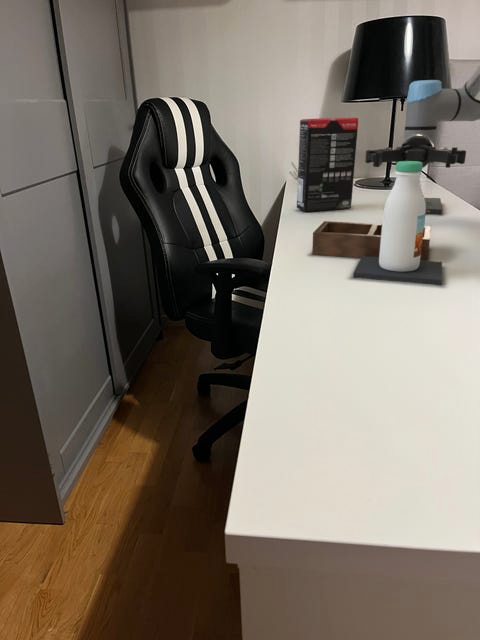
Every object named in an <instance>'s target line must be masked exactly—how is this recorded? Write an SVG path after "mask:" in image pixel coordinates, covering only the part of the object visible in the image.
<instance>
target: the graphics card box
mask: <svg viewBox="0 0 480 640" xmlns="http://www.w3.org/2000/svg"><path fill="white" fill-rule="evenodd" d="M358 129H359V118H358V117H328V118H327V117H326V118H324V117H323V118H303V119H300V120H299V141H298V142H299V143H298V167H297V189H296V192H297V193H296V209H298V210H300V211H302V212H318V211H320V212H321V211H332V210H333V211H334V210H335V211H336V210H345V209H351V208H352V202H353V191H354V177H355V164H356V153H357V152H356V151H357V141H358Z"/></svg>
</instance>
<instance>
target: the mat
mask: <svg viewBox="0 0 480 640" xmlns="http://www.w3.org/2000/svg"><path fill="white" fill-rule="evenodd" d="M352 276H353V278H357V279H368V280H380V281H391V282H392V281H393V282H402V283H414V284H425V285H426V284H427V285H438V286H442V284H443V262H442V261H437V260H436V261H435V260H427V261H423V260H420V264H419V267H418V269H416V270H413V271H406V272H399V271H391V270H386V269H384V268H382V267H380V265H379V257H367V256H362V257H361V258H359V261H358V263H357V265H356V267H355V269H354V270H353V275H352Z"/></svg>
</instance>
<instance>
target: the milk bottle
mask: <svg viewBox="0 0 480 640" xmlns="http://www.w3.org/2000/svg"><path fill="white" fill-rule="evenodd" d="M395 165H396V166H395V176H396V178H395V181H394V184H393V186H392V189H391V191H390V192H389V194H388V195H387V198H386V200H385V203H384V208H383V214H382V223H381V224H382V232H381V243H380V255H379V265H380V267H382V268H384V269H386V270H391V271H399V272H406V271H413V270H416V269H418V267H419V264H420V257H421V249H422V240H423V232H424V226H425V222H426V214H425V212H426V205H425V199H424V198H425V196H424V193H423V190H422V186H421V176H422V173H423V172H422V171H423V168H422V166H423V164H422V162H418V161H400V162H397V163H396V164H395Z"/></svg>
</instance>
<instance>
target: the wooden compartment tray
mask: <svg viewBox="0 0 480 640" xmlns="http://www.w3.org/2000/svg"><path fill="white" fill-rule="evenodd" d="M431 231H432V227H431V226H428V225H424V232H423V240H422V249H421V257H420V260H423V261H428V259H429V251H430V243H431ZM381 232H382V223H366V222H350V221H349V222H348V221H344V222H343V221H329V220H324V221H323V222H322V223H320V225H319V226H318V227H317V228H316V229H314V231H313V232H312V247H311V248H312V251H311V254H312V256H313V255H314V256H326V257H327V256H329V257H340V258H342V257H343V258H356V259H361V257H362V256H367V257H379V255H380V243H381Z"/></svg>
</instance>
